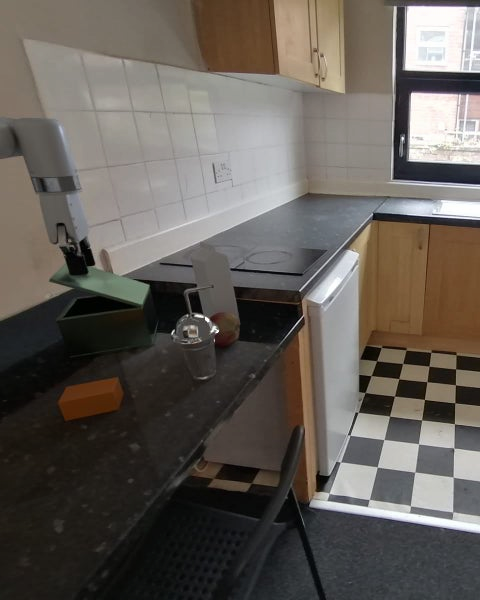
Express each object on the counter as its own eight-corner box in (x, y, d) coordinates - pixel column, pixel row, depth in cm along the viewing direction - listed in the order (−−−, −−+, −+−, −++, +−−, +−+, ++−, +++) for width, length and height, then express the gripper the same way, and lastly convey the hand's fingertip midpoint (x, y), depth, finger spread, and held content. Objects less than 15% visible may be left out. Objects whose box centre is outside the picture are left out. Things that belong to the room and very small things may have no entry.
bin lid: (48, 281, 81) (56, 259, 80) (68, 262, 92) (75, 243, 91) (140, 307, 90) (149, 288, 89) (148, 287, 100) (156, 270, 100)
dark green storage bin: (71, 360, 88) (55, 320, 84) (86, 334, 99) (73, 297, 95) (153, 346, 94) (142, 307, 90) (159, 323, 105) (149, 287, 101)
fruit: (226, 356, 90) (219, 325, 86) (200, 350, 92) (192, 319, 89) (250, 340, 96) (245, 310, 93) (225, 334, 99) (219, 305, 96)
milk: (227, 319, 107) (211, 238, 98) (240, 325, 104) (226, 242, 95) (205, 328, 102) (187, 243, 93) (219, 334, 99) (201, 248, 90)
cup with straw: (205, 360, 88) (185, 275, 80) (237, 368, 85) (221, 281, 77) (172, 381, 81) (147, 290, 73) (207, 391, 78) (184, 297, 70)
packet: (65, 421, 70) (57, 402, 69) (73, 404, 75) (66, 386, 73) (118, 409, 73) (112, 391, 72) (123, 394, 77) (117, 376, 76)
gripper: (49, 180, 87) (74, 260, 94) (16, 192, 72) (49, 285, 80) (90, 179, 90) (112, 257, 97) (67, 190, 75) (94, 281, 82)
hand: (83, 269), depth 88 cm, fingers closed on bin lid, 5 cm apart
